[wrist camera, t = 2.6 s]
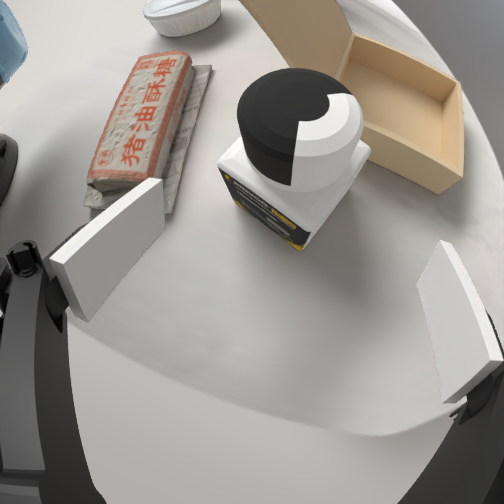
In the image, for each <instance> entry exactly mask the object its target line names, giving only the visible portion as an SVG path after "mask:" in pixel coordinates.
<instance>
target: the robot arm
mask: <svg viewBox="0 0 504 504" xmlns="http://www.w3.org/2000/svg"><path fill="white" fill-rule="evenodd" d="M27 54H28V47H27V43H26V39H25V37H24V34H23V32H22V30H21V28H20V26H19V24H18V22H17V20H16V18H15V17H14V15H13V13H12V12H11V10H10V9H9V7H8V6H7V5H6V3H5V2H3V1H2V0H0V89H1V88H2V87H3V86H4V85H5V83H8V81H9V80H10V77H11V76H12V75H13V74H14V73H15V72H16V70H17V69H18V68H19V67H20V66H21V65H22V64H23V63H24V61H25V59H26V57H27ZM16 160H17V143H16V141H15V140H14V139H12V138H11V137H9V136H8V135H5V134H1V133H0V205H1V203H2V201H3V199H4V197H5V195H6V192H7V190H8V187H9V185H10V182H11V179H12V176H13V173H14V169H15V165H16ZM165 229H166V225H165V212H164V196H163V179H156V178H148V179H146V180H145V181H144V182H142V183H141V184H139V185H138V186H136V187H135V188H134V189H132V190H131V191H130V192H128V193H127V194H125V195H124V196H123V197H121V198H120V199H119V200H117V201H116V202H115V203H114V204H112V205H111V206H110V207H108V208H107V209H106V210H105V211H103V212H102V213H101V214H100V215H98V216H97V217H96V218H95V219H93V220H92V221H91V222H89V223H87V224H85V225H83V226H81V227H79V228H78V229H77V230H76V231H75V232H74V233H72V235H70V236H69V237H68V238H67V239H65V241H63V242H62V243H61V244H60V245H59V246H58V247H57V248H55V249H54V250H53V251H52V252H51V253H50V254H49V255H48V256H47V257H46V258H45V259H44V260H43V261H42V259H41V256H40V253H39V251H38V248H37V245H36V243H35V242H34V241H32V240H26V241H22V242H20V243H18V244H16V245H15V246H13V247H12V248H11V249H10V250H9V251H8V253H7V255H6V256H7V259H8V261H9V263H10V265H11V268H12V269H10V268H9V266H8V264H7V262H6V260H5V259H4V258H0V309H1V311H2V312H3V314H2V316H1V317H0V504H106V501H105V500H104V498H103V497H102V495H101V494H100V493H99V492H98V491H97V490H96V488H95V486H94V484H93V482H92V479H91V476H90V472H89V469H88V466H87V462H86V459H85V455H84V451H83V447H82V443H81V438H80V435H79V430H78V424H77V419H76V414H75V408H74V402H73V394H72V387H71V378H70V368H69V356H68V335H67V314H66V312H65V309H66V308H67V307H68V306H70V308H71V310H72V312H73V314H74V316H76V317H78V318H80V319H82V320H84V321H86V322H89V321H90V320H91V318H92V317H93V316H94V314H95V313H96V312H97V310H98V309H99V308H100V306H101V305H102V304H103V303H104V301H105V300H106V299H107V297H108V296H109V295H110V294H111V292H112V291H113V290H114V289H115V287H116V286H117V285H118V284H119V283H120V281H121V280H122V279H123V278H124V276H125V275H126V274H127V273H128V272H129V270H130V269H131V268H132V267H133V266H134V265H135V263H136V262H137V261H138V260H139V259H140V257H141V256H142V255H143V254H144V253H145V252H146V251H147V249H148V248H149V247H150V246H151V245H152V244H153V243H154V242H155V240H156V239H157V238H158V237H159V236H160V235H161V234H162V233H163V231H164V230H165ZM416 286H417V289H418V292H419V296H420V299H421V303H422V306H423V310H424V314H425V317H426V321H427V325H428V329H429V334H430V338H431V342H432V347H433V352H434V357H435V362H436V367H437V373H438V379H439V386H440V393H441V401H442V403H457V402H458V401H459V400H460V399H462V398H463V397H464V396H465V395H466V396H467V402H466V403H465V404H463V405H462V406H461V407H459V408H458V409H457V410H455V411H454V412H452V413H451V415H450V416H449V417H452V416H454V415H455V414H457V413H458V415H457V417H456V418H455V419H453V420H454V423H453V424H452V426H451V428H450V430H449V431H448V433H447V435H446V437H445V438H444V440H443V442H442V443H441V445H440V447H439V448H438V450H437V451H436V453H435V454H434V456H433V458H432V459H431V461H430V462H429V464H428V465H427V467H426V468H425V469H424V471H423V472H422V474H421V475H420V476H419V478H418V479H417V480H416V482H415V483H414V484H413V485H412V487H411V488H410V489H409V490H408V492H407V493H406V494H405V495H404V497H403V498H402V499H401V500H400V501H399V502H398V504H504V351H503V348H502V345H501V343H500V340H499V338H498V334H497V332H496V330H495V326H494V324H493V321H492V319H491V317H490V316H489V314H488V313H487V311H486V310H485V308H484V306H483V304H482V302H481V299H480V297H479V295H478V293H477V291H476V289H475V287H474V285H473V283H472V281H471V279H470V277H469V275H468V273H467V271H466V269H465V267H464V265H463V263H462V261H461V260H460V258H459V256H458V254H457V252H456V251H455V249H454V247H453V246H452V244H451V243H448V242H445V241H442V240H439V241H438V243H437V245H436V247H435V250H434V252H433V254H432V256H431V258H430V259H429V261H428V263H427V265H426V267H425V269H424V271H423V273H422V275H421V276H420V278H419V280H418V282H417V284H416Z"/></svg>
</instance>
